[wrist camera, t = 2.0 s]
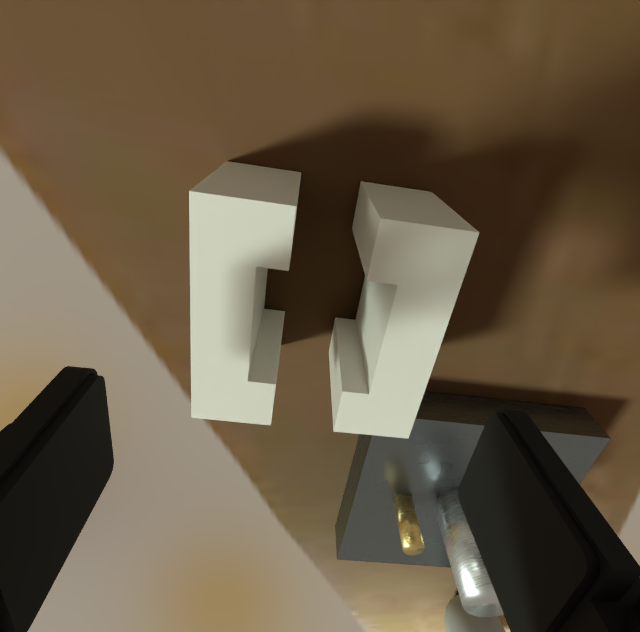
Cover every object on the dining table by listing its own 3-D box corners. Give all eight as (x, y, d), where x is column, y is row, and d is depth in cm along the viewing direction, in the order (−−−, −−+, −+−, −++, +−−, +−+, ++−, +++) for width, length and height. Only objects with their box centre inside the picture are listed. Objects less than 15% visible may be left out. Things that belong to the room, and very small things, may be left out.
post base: (372, 385, 20) (396, 506, 14) (585, 408, 20) (689, 530, 15) (335, 526, 25) (341, 655, 19) (506, 539, 26) (560, 666, 20)
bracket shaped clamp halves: (226, 161, 14) (189, 191, 10) (431, 191, 15) (479, 232, 11) (220, 338, 18) (191, 417, 14) (386, 357, 19) (408, 438, 14)
